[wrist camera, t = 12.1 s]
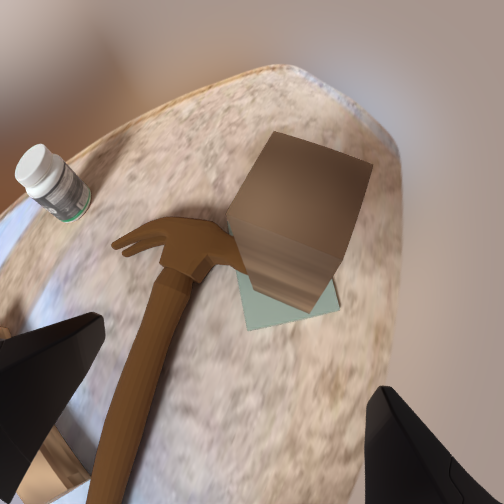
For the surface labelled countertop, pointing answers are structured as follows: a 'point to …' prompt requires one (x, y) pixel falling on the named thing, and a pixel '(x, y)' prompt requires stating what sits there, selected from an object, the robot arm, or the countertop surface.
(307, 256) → the brown wooden block
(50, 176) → the pill bottle
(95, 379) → the countertop surface
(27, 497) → the slotted wooden slab
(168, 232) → the hammer
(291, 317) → the rubber mat
